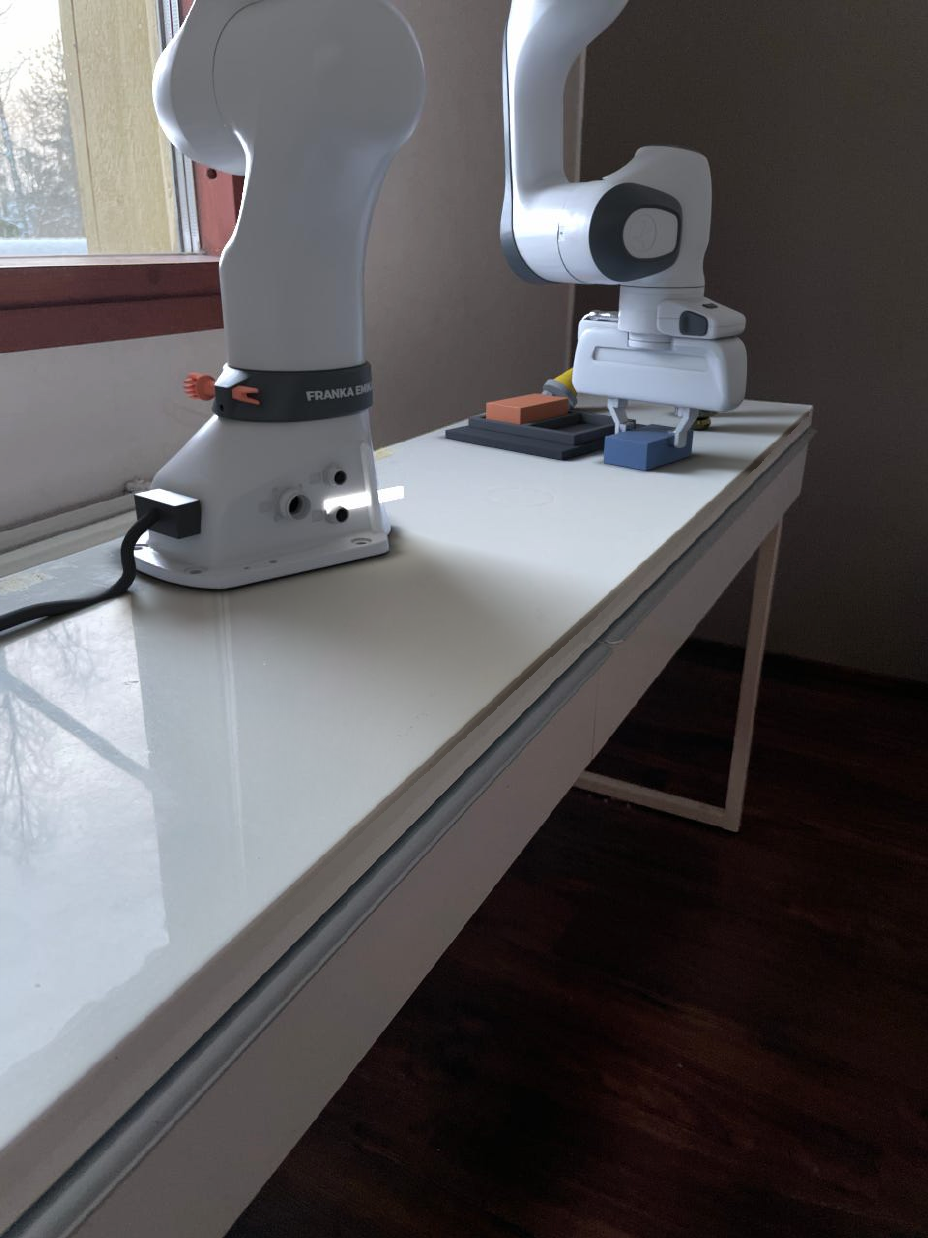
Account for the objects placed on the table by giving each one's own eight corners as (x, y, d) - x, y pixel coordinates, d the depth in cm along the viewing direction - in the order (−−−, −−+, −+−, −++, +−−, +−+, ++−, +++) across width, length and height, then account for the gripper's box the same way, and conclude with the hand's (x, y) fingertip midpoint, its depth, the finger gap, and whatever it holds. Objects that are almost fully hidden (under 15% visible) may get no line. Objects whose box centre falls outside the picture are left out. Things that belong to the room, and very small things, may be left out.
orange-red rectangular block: (520, 432, 117) (520, 407, 116) (486, 426, 120) (486, 402, 119) (567, 421, 124) (568, 397, 123) (534, 415, 127) (535, 393, 126)
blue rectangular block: (645, 470, 103) (647, 443, 102) (603, 463, 106) (604, 436, 105) (691, 455, 110) (694, 429, 109) (650, 448, 113) (652, 423, 112)
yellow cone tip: (531, 411, 138) (570, 359, 140) (562, 430, 137) (601, 377, 139) (530, 394, 133) (571, 340, 135) (562, 413, 132) (602, 358, 133)
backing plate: (561, 460, 108) (562, 440, 107) (445, 437, 119) (445, 420, 118) (654, 433, 122) (656, 416, 121) (542, 416, 133) (542, 400, 132)
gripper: (563, 310, 106) (558, 433, 112) (732, 322, 94) (717, 460, 99) (596, 307, 111) (589, 426, 116) (760, 318, 98) (745, 450, 104)
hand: (649, 442), depth 107 cm, fingers closed on blue rectangular block, 5 cm apart
